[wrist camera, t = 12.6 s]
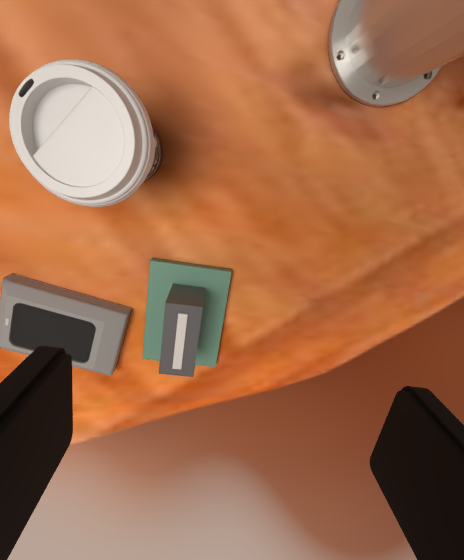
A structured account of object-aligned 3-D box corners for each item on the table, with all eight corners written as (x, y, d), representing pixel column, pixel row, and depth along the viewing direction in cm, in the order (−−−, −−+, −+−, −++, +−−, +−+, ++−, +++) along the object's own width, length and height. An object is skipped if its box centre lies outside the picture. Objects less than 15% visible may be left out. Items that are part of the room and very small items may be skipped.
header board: (152, 257, 38) (143, 269, 34) (231, 269, 39) (232, 281, 35) (144, 354, 43) (136, 375, 38) (215, 361, 44) (215, 383, 39)
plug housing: (173, 283, 38) (164, 303, 32) (204, 287, 38) (202, 308, 33) (166, 345, 41) (158, 374, 35) (196, 349, 41) (193, 378, 35)
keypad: (108, 381, 40) (-14, 351, 38) (117, 364, 44) (6, 336, 41) (124, 319, 37) (-6, 282, 35) (132, 306, 41) (14, 272, 38)
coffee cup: (154, 87, 32) (104, 20, 18) (189, 177, 35) (170, 181, 21) (72, 121, 33) (-38, 83, 19) (114, 207, 36) (47, 229, 22)
